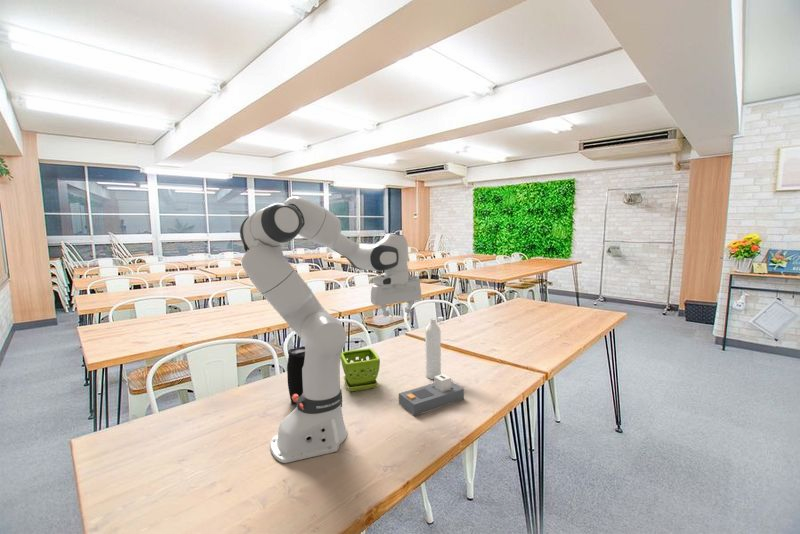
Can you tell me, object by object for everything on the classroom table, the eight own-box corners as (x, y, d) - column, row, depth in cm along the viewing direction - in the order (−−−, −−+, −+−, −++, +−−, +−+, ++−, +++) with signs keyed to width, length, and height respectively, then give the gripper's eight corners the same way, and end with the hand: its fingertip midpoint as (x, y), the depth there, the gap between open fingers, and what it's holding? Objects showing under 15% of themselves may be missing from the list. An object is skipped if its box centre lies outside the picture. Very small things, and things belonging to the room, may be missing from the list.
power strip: (414, 415, 122) (414, 403, 121) (398, 403, 130) (398, 391, 130) (463, 399, 133) (464, 387, 133) (446, 389, 142) (446, 377, 141)
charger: (441, 399, 131) (441, 380, 130) (434, 394, 135) (434, 376, 134) (451, 396, 134) (451, 377, 133) (443, 391, 137) (443, 373, 136)
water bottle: (431, 380, 150) (431, 321, 147) (422, 375, 155) (422, 318, 153) (448, 375, 155) (447, 318, 152) (438, 370, 160) (438, 315, 157)
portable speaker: (284, 403, 132) (281, 351, 130) (301, 393, 140) (299, 344, 138) (302, 408, 128) (299, 355, 126) (319, 397, 137) (316, 347, 134)
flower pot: (340, 380, 151) (339, 351, 150) (373, 376, 155) (372, 347, 154) (346, 395, 138) (345, 363, 137) (381, 389, 142) (380, 358, 141)
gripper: (415, 274, 142) (415, 309, 143) (368, 279, 131) (369, 316, 133) (424, 276, 136) (424, 312, 138) (376, 281, 126) (377, 319, 127)
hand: (397, 314), depth 135 cm, fingers open, 8 cm apart
